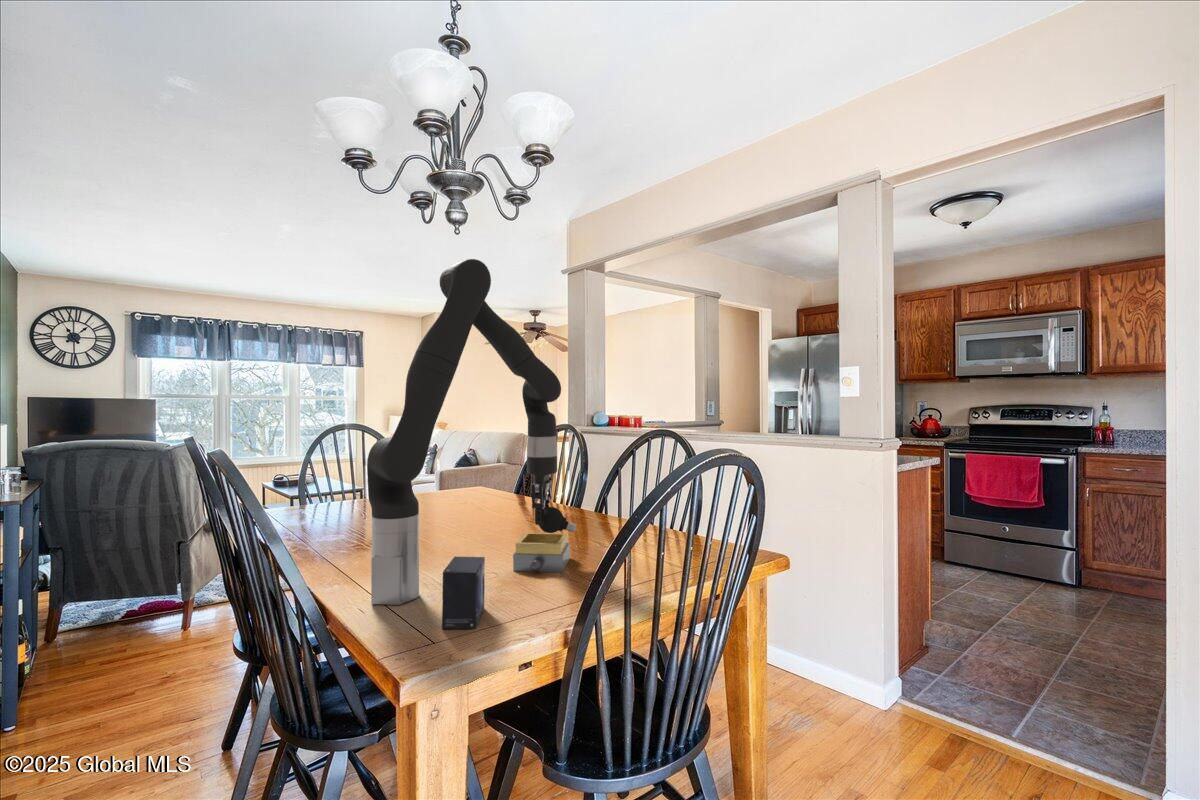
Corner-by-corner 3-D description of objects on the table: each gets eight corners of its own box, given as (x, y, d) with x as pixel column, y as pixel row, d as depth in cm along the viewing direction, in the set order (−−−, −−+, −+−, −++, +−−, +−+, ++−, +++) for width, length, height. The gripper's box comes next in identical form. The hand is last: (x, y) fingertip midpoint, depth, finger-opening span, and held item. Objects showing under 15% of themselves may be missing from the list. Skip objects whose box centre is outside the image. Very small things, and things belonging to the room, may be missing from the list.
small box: (477, 629, 103) (477, 571, 103) (440, 630, 102) (440, 572, 102) (486, 608, 113) (486, 555, 113) (452, 609, 113) (452, 555, 113)
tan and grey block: (560, 576, 134) (560, 548, 134) (510, 574, 135) (510, 547, 135) (569, 558, 148) (569, 533, 148) (524, 557, 150) (524, 532, 150)
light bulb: (581, 517, 141) (543, 502, 140) (572, 542, 139) (533, 527, 139) (579, 517, 147) (543, 503, 147) (570, 541, 145) (533, 527, 145)
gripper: (551, 457, 135) (552, 528, 136) (561, 451, 150) (561, 516, 150) (520, 457, 136) (521, 528, 136) (533, 451, 150) (533, 515, 151)
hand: (542, 521), depth 143 cm, fingers closed on light bulb, 6 cm apart
